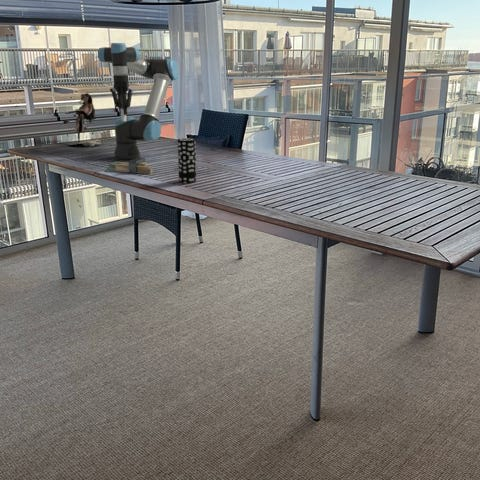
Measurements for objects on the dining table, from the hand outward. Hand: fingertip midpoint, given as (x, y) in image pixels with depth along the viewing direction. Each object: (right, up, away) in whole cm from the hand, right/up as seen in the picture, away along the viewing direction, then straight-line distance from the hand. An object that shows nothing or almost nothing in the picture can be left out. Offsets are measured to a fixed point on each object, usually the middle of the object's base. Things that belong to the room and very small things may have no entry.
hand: (124, 120), depth 276 cm
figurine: (-44, +1, +77) cm, 88 cm away
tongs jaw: (+4, -27, -4) cm, 27 cm away
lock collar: (+9, -28, -7) cm, 30 cm away
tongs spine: (+6, -28, -7) cm, 29 cm away
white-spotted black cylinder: (+37, -36, -28) cm, 58 cm away
